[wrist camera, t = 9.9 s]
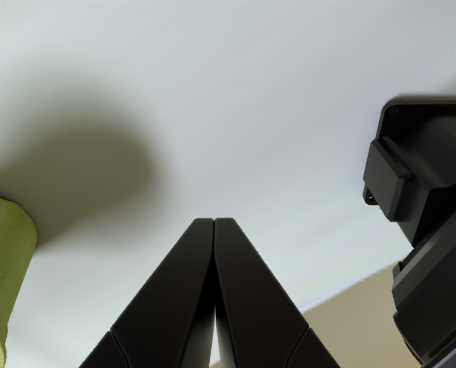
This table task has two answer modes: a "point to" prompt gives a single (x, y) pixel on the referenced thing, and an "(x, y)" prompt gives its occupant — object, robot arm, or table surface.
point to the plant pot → (13, 260)
